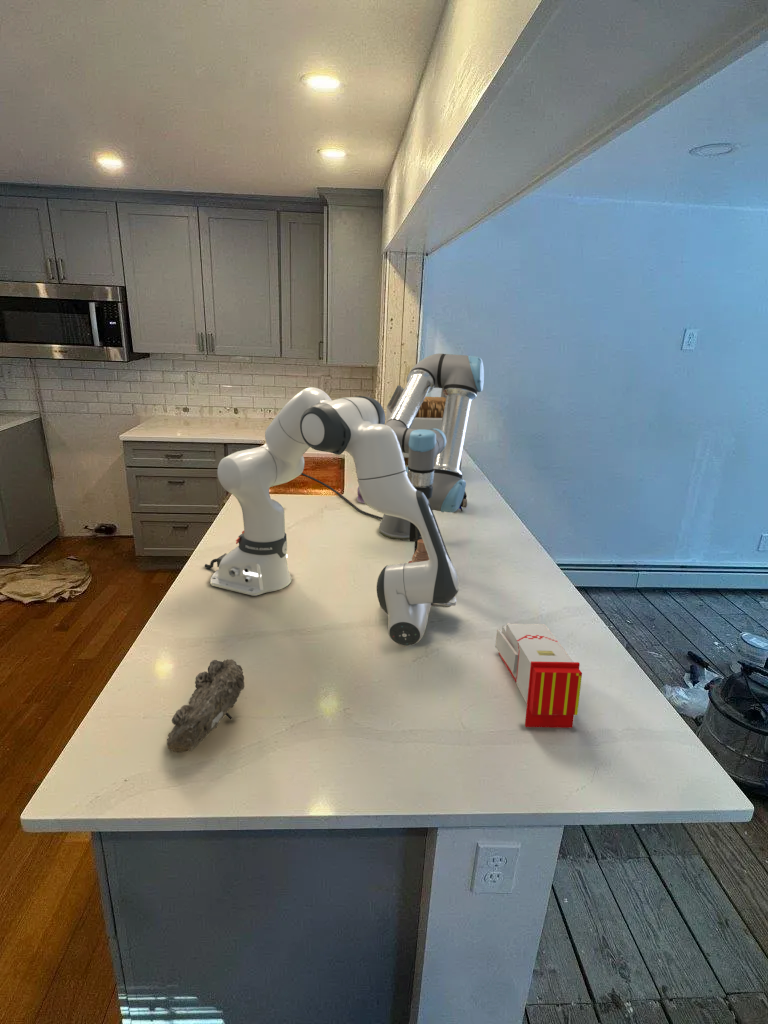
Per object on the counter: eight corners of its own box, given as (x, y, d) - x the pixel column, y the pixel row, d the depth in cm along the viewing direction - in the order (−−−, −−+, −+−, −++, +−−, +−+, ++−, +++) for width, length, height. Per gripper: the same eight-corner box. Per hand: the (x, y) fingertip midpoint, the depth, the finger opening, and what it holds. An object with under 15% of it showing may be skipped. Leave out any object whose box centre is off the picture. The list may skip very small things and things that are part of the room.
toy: (542, 608, 134) (591, 669, 104) (537, 660, 136) (583, 734, 107) (491, 607, 133) (526, 668, 104) (487, 660, 136) (520, 733, 107)
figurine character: (467, 516, 223) (461, 500, 237) (469, 499, 220) (463, 483, 233) (450, 516, 223) (446, 499, 236) (452, 498, 220) (447, 483, 233)
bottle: (422, 594, 158) (426, 536, 152) (431, 602, 154) (436, 543, 148) (405, 597, 156) (409, 538, 150) (414, 606, 152) (419, 545, 146)
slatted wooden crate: (382, 463, 289) (386, 382, 275) (445, 464, 293) (451, 384, 279) (390, 482, 257) (394, 392, 243) (460, 483, 261) (468, 394, 247)
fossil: (192, 660, 117) (244, 628, 112) (224, 691, 120) (276, 661, 115) (142, 746, 98) (202, 712, 93) (182, 779, 101) (242, 748, 96)
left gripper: (456, 595, 138) (459, 571, 151) (374, 585, 141) (384, 562, 154) (454, 618, 140) (457, 592, 153) (373, 607, 143) (383, 583, 156)
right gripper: (403, 471, 176) (400, 533, 183) (411, 498, 152) (407, 569, 160) (427, 471, 176) (423, 534, 184) (439, 498, 153) (433, 569, 160)
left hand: (420, 577), depth 154 cm, fingers closed on bottle, 5 cm apart
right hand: (415, 550), depth 172 cm, fingers open, 13 cm apart
